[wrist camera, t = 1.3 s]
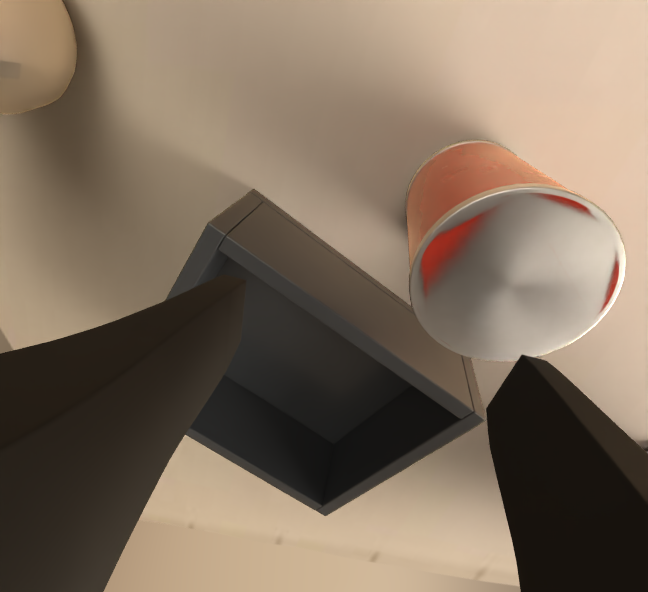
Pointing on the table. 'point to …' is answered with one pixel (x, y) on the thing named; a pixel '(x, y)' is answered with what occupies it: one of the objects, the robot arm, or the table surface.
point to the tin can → (506, 255)
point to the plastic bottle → (34, 53)
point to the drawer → (321, 365)
